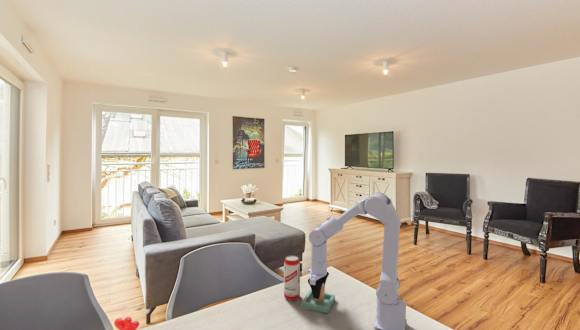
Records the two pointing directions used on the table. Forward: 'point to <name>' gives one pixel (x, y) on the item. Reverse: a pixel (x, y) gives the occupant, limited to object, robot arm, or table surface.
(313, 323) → the table surface
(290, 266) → the beer can
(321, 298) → the shaker
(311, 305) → the tray
